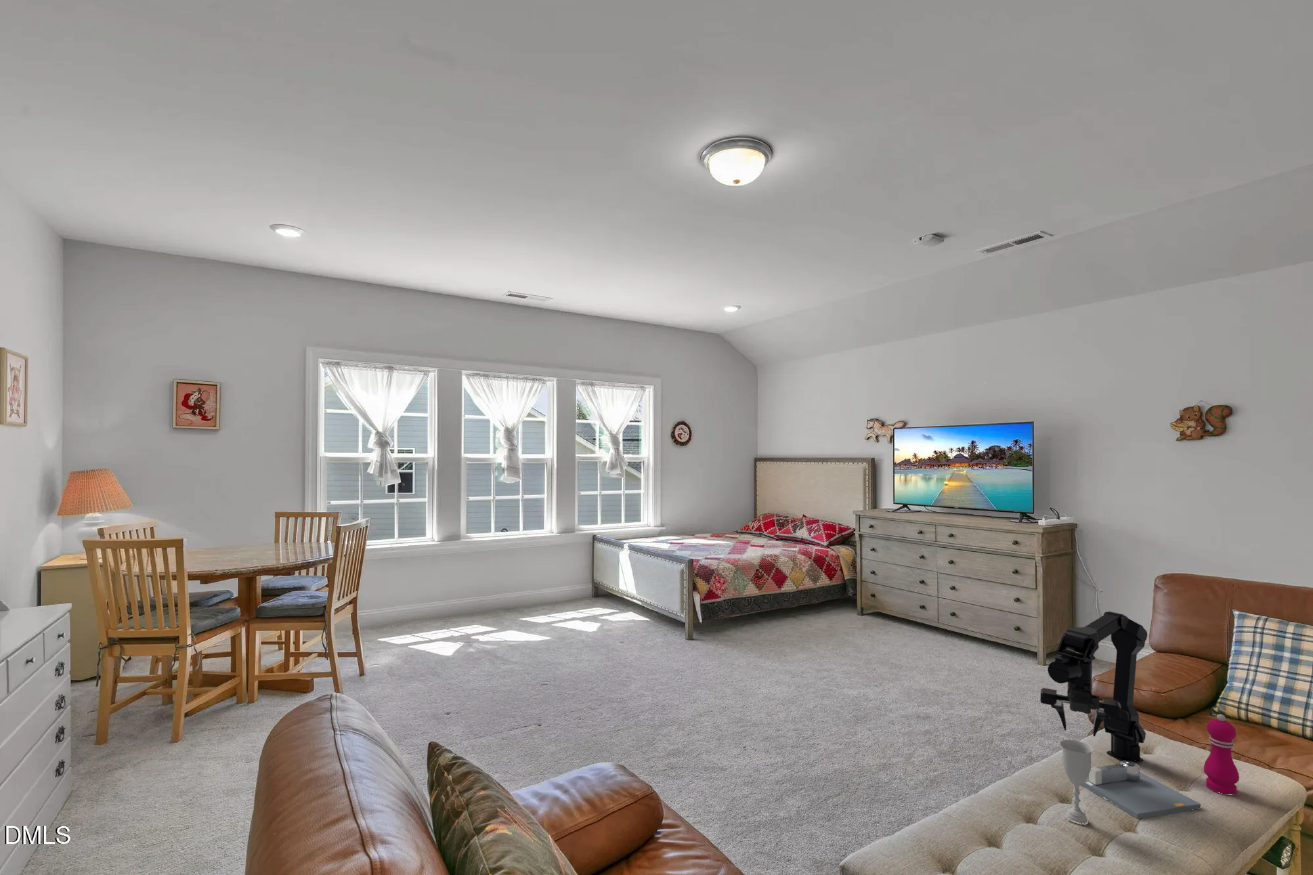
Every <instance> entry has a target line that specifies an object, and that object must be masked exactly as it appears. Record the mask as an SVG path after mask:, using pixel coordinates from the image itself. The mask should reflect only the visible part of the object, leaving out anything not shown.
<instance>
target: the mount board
mask: <svg viewBox="0 0 1313 875" xmlns="http://www.w3.org/2000/svg"><path fill="white" fill-rule="evenodd" d="M1081 786H1082V787H1083V788H1085V789H1087V790H1089V791H1090V792H1092V793H1093V794H1096V795H1097V794H1098V795H1097V796H1098V797H1100V796H1102V797H1105V798H1106V799H1108V800H1109V801H1111V802H1112V803H1114V804H1115V805H1117V806H1118V807H1117V806H1116V807H1117V808H1119V809H1120V810H1122V811H1124V812H1125V813H1127V814H1129V815H1131V816H1132V817H1133V818H1135V819H1138V820H1139V819H1143V818H1149V817H1150V818H1151V817H1156V816H1161V815H1169V814H1174V813H1175V814H1176V813H1181V812H1182V813H1183V812H1187V811H1188V810H1189V811H1193V810H1192V809H1195V810H1199V809H1198V808H1200V807H1201V806H1202V804H1201V803H1199V802H1198V801H1196V800H1194V799H1193V798H1190V797H1188V796H1187V795H1185V794H1182V793H1180V791H1177V790H1175V789H1173V788H1171V787H1169V786H1167V785H1165V784H1163V783H1161V782H1160V781H1158V780H1156V779H1154V778H1152V777H1150V776H1149V775H1146V774H1144V773H1142V772H1141V771H1140V781H1138V782H1133V781H1129V780H1124V781H1116V782H1109V783H1102V784H1097V785H1095V784H1093V783H1092V782H1090V781H1089V775H1088V777H1087V779H1086V781H1085V782H1084V784H1083V785H1081ZM1102 797H1101V798H1102ZM1109 801H1108V802H1109ZM1112 803H1111V804H1112ZM1114 804H1113V805H1114ZM1115 805H1114V806H1115ZM1201 808H1202V807H1201Z"/></svg>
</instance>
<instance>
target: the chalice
mask: <svg viewBox="0 0 1313 875" xmlns="http://www.w3.org/2000/svg"><path fill="white" fill-rule="evenodd" d="M1059 745H1060V746H1061V748H1062V749H1061V751H1062V754H1061V756H1062V757H1061V758H1062V766H1063V769H1064V771H1065V774H1066V776H1067V778H1068V781H1069V782H1070V783H1071V784H1072V785H1074V787H1073V790H1072V792H1073V797H1072V799H1071V800H1072V801H1073V804H1074V805H1073V806H1070V807H1069V808H1068V809H1067V811H1066V813H1065V814H1066V815H1067V817H1069V818H1071V820H1074V821H1076V822H1079V823H1081V824H1082V823H1084V824H1085V823H1086V822H1087V820H1088V818H1087V815H1086V813H1085V811H1084V810H1082V809H1081V808H1080V802H1081V801H1082V800H1081V799H1080V797H1079V796H1080V795H1081V791H1080V789H1079V788H1080V786H1082V785H1083V784H1084V782H1085V781H1086V779H1087V777H1088V775H1089V773H1090V771H1091V767H1092V753H1093V752H1094V748H1093V747H1092V746H1091V745H1090V744H1088V743H1086V742H1083V741H1080V740H1076V739H1075V740H1074V739H1065V740H1064V739H1063V740H1061V741H1060V742H1059Z"/></svg>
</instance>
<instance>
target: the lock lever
mask: <svg viewBox="0 0 1313 875" xmlns="http://www.w3.org/2000/svg"><path fill="white" fill-rule="evenodd" d="M1119 761H1120V762H1119V763H1117V764H1116V763H1115V764H1110V765H1102V766H1091V771H1090V773H1089V781H1090V782H1092V783H1093V784H1095V785H1097V784H1102V783H1109V782H1116V781H1124V780H1129V781H1133V782H1138V781H1140V772H1141V766H1140V765H1139V764H1138V763H1137V762H1132V761H1121V760H1119Z"/></svg>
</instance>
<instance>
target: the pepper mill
mask: <svg viewBox="0 0 1313 875" xmlns="http://www.w3.org/2000/svg"><path fill="white" fill-rule="evenodd" d="M1206 731H1207V732H1208V734H1209V736H1208V742H1209V743H1210V745H1211V746H1210V753H1209V755H1208V756H1207V758H1206V760H1205V761H1204V764H1203V772H1204V774H1205V775H1206V776H1207V777H1206V778H1205V786H1206V787H1207V789H1209V790H1211V791H1212V790H1213V791H1212V792H1215V793H1217V792H1220V793H1222V794H1221V795H1224V794H1236V793H1237V794H1238V786H1237V785H1236V784H1237V783H1238V782H1239V781H1240V773H1239V771H1238V768H1237V766H1236V764H1235V762H1234V760H1233V756H1232V749H1233V748H1234V745H1235V744H1234V739H1235V738H1236V737H1237V730H1236V728H1235V726H1234V725H1233V724H1232V723H1230V722H1229V721H1227V720H1226V717H1225V715H1223V714H1217V715H1216V718H1213V719H1210V720H1208V722H1207V723H1206ZM1220 793H1219V794H1220ZM1237 794H1236V795H1237Z"/></svg>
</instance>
